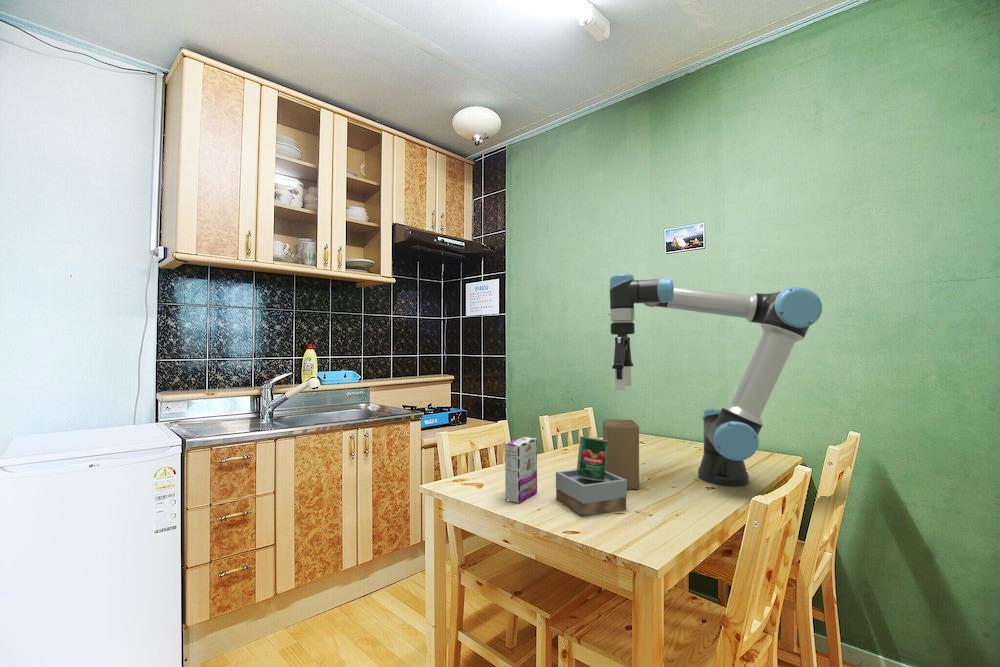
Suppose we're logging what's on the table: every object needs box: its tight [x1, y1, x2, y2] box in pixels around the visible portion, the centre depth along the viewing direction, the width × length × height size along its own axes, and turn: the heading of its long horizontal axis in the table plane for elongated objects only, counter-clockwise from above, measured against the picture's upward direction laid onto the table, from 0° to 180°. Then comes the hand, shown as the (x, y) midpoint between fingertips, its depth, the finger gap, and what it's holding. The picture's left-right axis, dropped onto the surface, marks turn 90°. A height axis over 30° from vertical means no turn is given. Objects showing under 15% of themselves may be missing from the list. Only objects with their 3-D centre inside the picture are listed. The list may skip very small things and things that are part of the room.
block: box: [602, 418, 640, 490], centre depth 145 cm, size 10×10×20 cm
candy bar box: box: [504, 436, 538, 504], centre depth 133 cm, size 11×5×16 cm, turn 148°
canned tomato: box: [576, 435, 608, 481], centre depth 128 cm, size 8×8×11 cm
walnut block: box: [555, 487, 627, 517], centre depth 127 cm, size 14×14×4 cm
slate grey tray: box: [555, 468, 628, 504], centre depth 127 cm, size 14×14×4 cm
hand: (623, 388), depth 147 cm, fingers open, 13 cm apart
